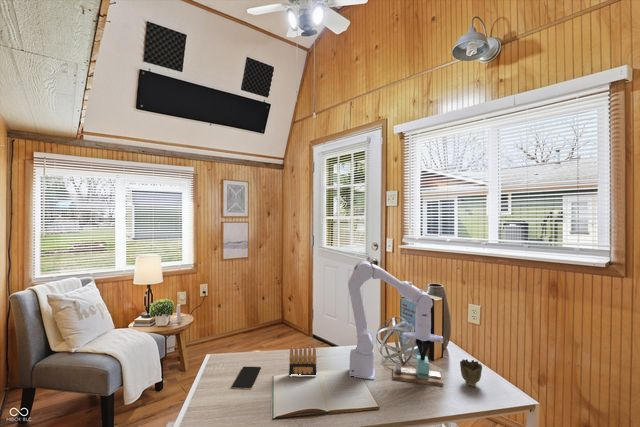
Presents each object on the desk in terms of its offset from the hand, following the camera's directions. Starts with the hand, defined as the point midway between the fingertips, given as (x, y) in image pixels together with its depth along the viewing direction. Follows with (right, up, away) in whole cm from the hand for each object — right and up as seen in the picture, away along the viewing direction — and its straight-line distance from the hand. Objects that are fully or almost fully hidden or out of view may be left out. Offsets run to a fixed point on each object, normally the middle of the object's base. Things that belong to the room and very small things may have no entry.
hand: (422, 359), depth 121 cm
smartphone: (-67, -7, -2) cm, 68 cm away
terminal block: (0, -6, 0) cm, 6 cm away
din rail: (-2, -6, 0) cm, 6 cm away
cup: (+16, -8, -5) cm, 19 cm away
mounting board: (-2, -7, 0) cm, 7 cm away
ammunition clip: (-46, -7, 0) cm, 47 cm away
